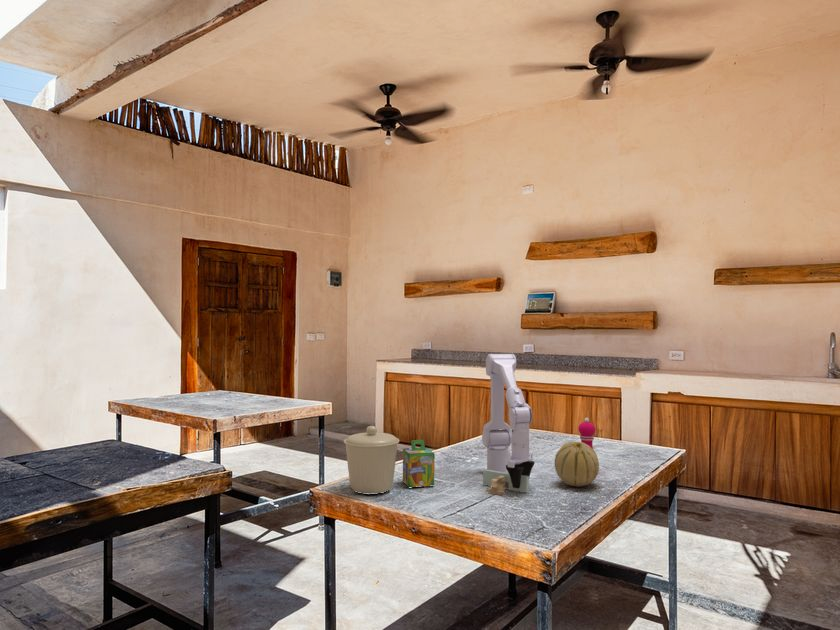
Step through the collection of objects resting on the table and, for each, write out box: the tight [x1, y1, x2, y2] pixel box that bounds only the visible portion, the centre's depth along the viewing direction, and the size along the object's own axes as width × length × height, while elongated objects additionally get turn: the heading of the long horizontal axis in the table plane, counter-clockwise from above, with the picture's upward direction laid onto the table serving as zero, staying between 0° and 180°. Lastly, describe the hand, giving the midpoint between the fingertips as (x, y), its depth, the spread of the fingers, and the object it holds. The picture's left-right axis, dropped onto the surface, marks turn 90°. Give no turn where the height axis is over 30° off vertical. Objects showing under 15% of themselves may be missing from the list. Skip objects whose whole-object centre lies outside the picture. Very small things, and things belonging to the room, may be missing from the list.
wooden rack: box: [485, 476, 509, 496], centre depth 189 cm, size 16×6×4 cm, turn 145°
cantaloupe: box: [554, 441, 600, 488], centre depth 192 cm, size 15×15×15 cm
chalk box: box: [402, 439, 436, 488], centre depth 193 cm, size 9×9×15 cm
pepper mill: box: [577, 417, 596, 450], centre depth 210 cm, size 7×7×20 cm
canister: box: [343, 425, 400, 493], centre depth 186 cm, size 18×18×21 cm
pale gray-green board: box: [482, 468, 530, 494], centre depth 189 cm, size 2×16×5 cm, turn 55°
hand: (520, 485), depth 186 cm, fingers open, 6 cm apart
